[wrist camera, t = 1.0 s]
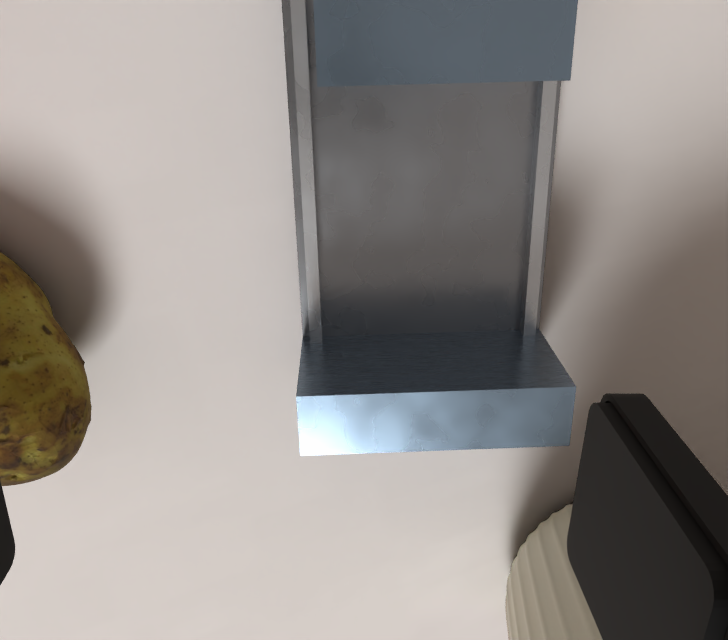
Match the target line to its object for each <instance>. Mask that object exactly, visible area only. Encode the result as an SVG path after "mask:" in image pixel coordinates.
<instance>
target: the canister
mask: <svg viewBox="0 0 728 640" xmlns="http://www.w3.org/2000/svg"><path fill="white" fill-rule="evenodd" d="M572 506H573V504H570V505H566V506H565V507H564V508H563V509H561V510H560V511H558V512H555V513H552V514H551V516H550V517H549V518H548V519H547V520H545V521H543V522H541V523H540V524H539V525H538V527H537V529H536V530H535V531H534V532H532V533H530V534H529V535H528V537H527V540H526V542H525V543H524V544H523V545H521V547H520V548H519V551H518V554H517V557H516V558H515V559H514V561H513V563H512V566H511V572H510V574H509V577H508V580H507V594H506V620H507V629H508V638H509V640H603V639H602V637H601V635H600V632H599V630H598V627H597V625H596V623H595V620H594V618H593V616H592V613H591V611H590V609H589V606H588V604H587V602H586V599H585V597H584V595H583V592H582V590H581V588H580V585H579V583H578V580H577V578H576V576H575V573H574V571H573V569H572V566H571V564H570V561H569V558H568V553H567V535H568V529H569V524H570V518H571V512H572Z"/></svg>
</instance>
